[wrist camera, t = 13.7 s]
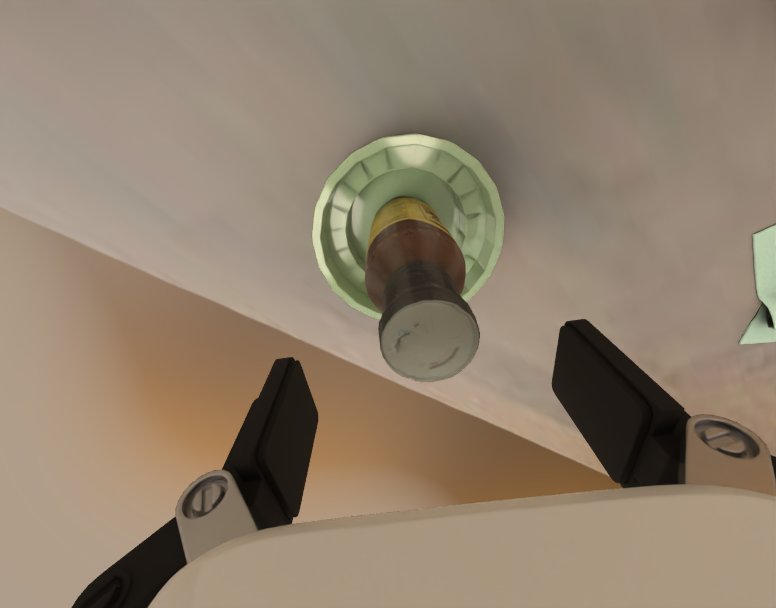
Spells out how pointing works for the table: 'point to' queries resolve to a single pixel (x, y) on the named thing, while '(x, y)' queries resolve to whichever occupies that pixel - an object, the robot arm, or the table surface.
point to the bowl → (411, 179)
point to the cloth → (764, 288)
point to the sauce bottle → (419, 292)
